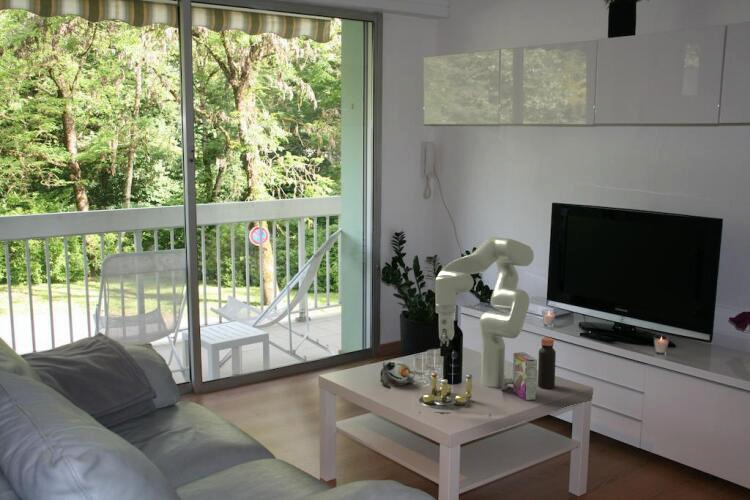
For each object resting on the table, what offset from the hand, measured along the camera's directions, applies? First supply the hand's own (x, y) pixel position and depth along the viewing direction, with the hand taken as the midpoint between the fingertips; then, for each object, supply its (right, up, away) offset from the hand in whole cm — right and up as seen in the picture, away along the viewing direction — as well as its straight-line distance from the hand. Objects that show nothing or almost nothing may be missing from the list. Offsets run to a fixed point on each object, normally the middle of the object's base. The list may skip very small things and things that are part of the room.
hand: (446, 352), depth 295 cm
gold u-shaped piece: (-1, -18, +10) cm, 21 cm away
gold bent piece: (+7, -19, +3) cm, 21 cm away
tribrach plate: (0, -21, +5) cm, 21 cm away
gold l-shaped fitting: (-4, -19, +1) cm, 20 cm away
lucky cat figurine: (-17, -18, +29) cm, 38 cm away
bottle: (+44, -18, +27) cm, 54 cm away
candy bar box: (+32, -19, +15) cm, 41 cm away
